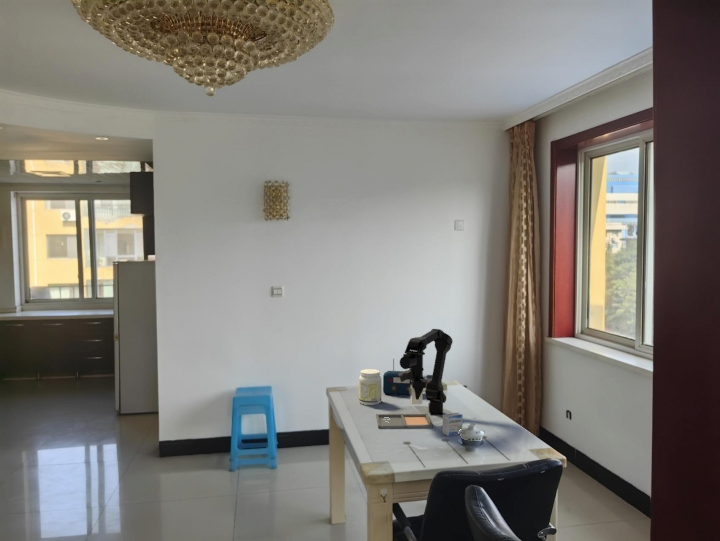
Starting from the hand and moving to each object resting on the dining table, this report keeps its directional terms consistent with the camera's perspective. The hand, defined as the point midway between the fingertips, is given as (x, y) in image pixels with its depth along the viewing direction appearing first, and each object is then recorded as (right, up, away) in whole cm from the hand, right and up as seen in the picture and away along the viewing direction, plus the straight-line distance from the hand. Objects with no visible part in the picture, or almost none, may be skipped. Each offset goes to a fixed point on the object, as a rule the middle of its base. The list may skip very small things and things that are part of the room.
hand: (416, 398), depth 248 cm
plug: (0, -2, 0) cm, 2 cm away
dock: (-6, -12, 0) cm, 13 cm away
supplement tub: (-21, -11, +33) cm, 40 cm away
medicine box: (+14, -13, -14) cm, 24 cm away
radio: (-3, -10, +49) cm, 50 cm away
